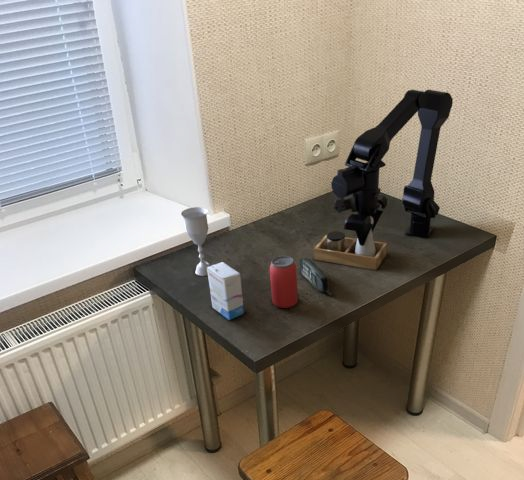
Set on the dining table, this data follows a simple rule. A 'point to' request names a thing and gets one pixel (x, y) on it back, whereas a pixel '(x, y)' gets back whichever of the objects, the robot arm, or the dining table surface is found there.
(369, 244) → the salt shaker
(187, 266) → the dining table surface
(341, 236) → the cylinder
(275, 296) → the beer can
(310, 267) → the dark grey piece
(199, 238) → the chalice
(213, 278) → the ink box
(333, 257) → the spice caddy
